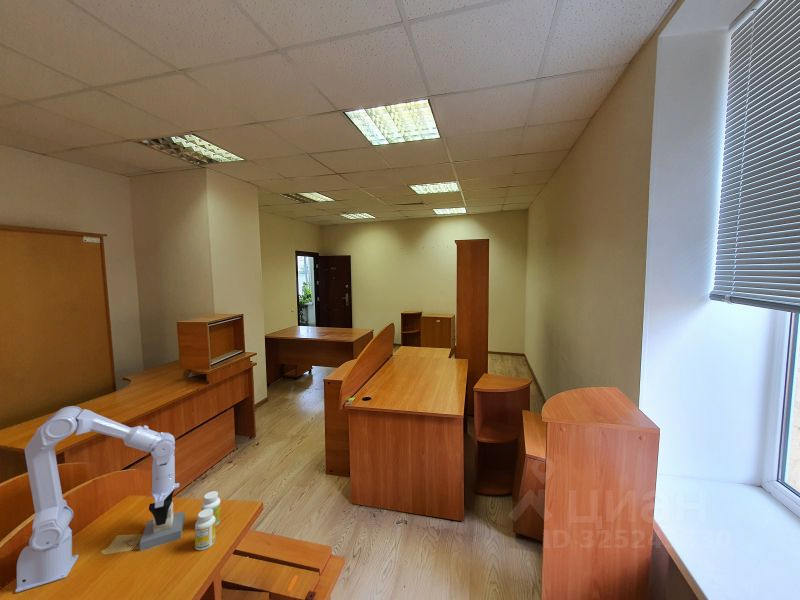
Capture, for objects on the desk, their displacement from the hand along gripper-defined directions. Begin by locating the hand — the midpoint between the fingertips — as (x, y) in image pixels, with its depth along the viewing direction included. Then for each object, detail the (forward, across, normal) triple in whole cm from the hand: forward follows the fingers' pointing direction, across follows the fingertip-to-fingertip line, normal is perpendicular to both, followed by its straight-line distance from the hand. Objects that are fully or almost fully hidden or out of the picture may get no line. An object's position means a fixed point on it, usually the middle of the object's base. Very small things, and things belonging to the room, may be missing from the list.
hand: (163, 516), depth 98 cm
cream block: (+3, 0, 0) cm, 3 cm away
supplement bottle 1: (+6, -2, -13) cm, 14 cm away
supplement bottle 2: (+6, -11, -12) cm, 17 cm away
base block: (+6, 0, 0) cm, 6 cm away
